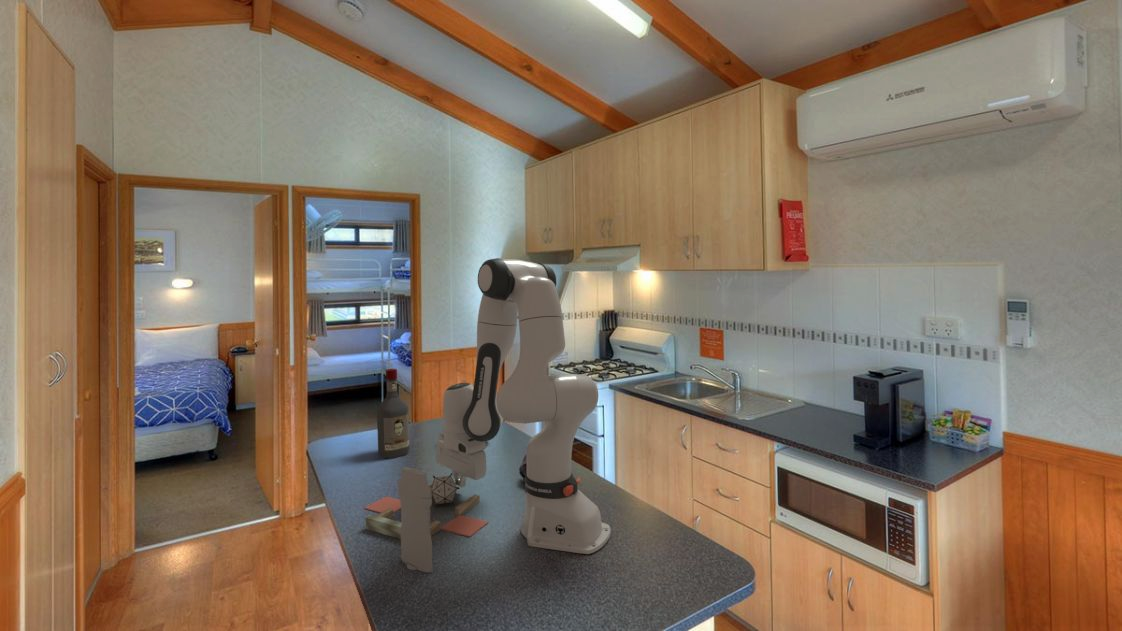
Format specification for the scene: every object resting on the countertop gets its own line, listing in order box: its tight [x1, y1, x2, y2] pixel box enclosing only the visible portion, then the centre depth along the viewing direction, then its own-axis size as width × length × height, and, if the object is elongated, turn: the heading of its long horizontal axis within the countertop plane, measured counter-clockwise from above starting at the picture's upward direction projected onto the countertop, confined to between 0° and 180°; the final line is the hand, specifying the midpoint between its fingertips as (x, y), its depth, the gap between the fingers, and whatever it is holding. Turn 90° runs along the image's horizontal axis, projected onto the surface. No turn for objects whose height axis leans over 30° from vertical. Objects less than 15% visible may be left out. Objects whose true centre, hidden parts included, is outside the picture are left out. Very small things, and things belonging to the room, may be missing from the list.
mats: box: [363, 495, 489, 538], centre depth 140 cm, size 35×8×1 cm, turn 64°
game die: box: [431, 472, 460, 508], centre depth 147 cm, size 9×8×10 cm
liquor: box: [376, 368, 410, 459], centre depth 185 cm, size 9×9×30 cm
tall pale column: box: [397, 466, 434, 574], centre depth 116 cm, size 11×4×22 cm, turn 55°
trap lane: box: [365, 484, 481, 540], centre depth 140 cm, size 17×25×3 cm
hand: (460, 485), depth 154 cm, fingers closed
